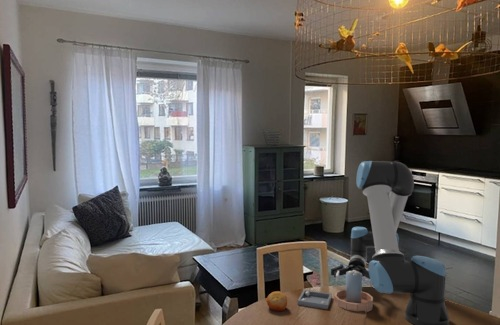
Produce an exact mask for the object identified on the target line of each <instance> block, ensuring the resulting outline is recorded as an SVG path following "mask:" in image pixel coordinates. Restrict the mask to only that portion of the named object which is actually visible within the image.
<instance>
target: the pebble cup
mask: <svg viewBox="0 0 500 325" xmlns="http://www.w3.org/2000/svg"><path fill="white" fill-rule="evenodd" d="M345 289H346V294H345V301H346V302H350V303H361V302H362V291H363V277H362V273H360V272H358V271H356V270H353V271H347V272H346V274H345Z"/></svg>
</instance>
